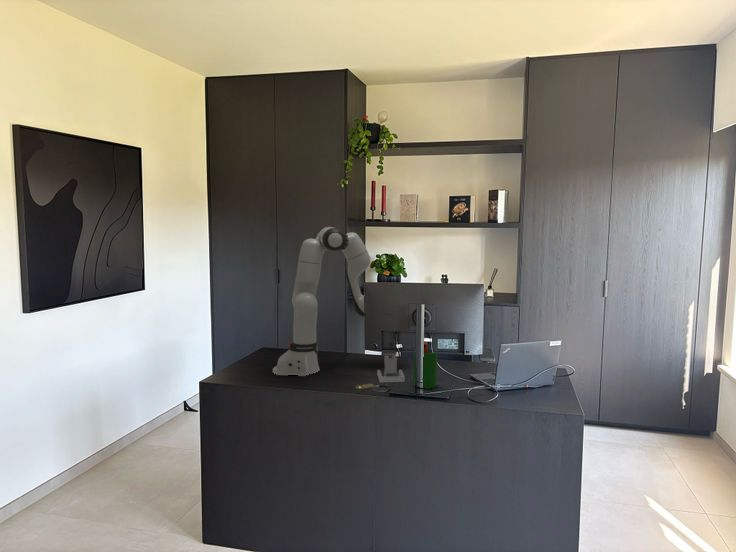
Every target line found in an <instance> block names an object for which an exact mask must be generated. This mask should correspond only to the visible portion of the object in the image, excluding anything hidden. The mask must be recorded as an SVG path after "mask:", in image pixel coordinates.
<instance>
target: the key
mask: <svg viewBox="0 0 736 552" xmlns="http://www.w3.org/2000/svg"><path fill="white" fill-rule="evenodd" d="M374 387H375V385H374V384H373V383H367V384H359V385H358V384H357V385H356V386H355V389H356V390H363V389H369V388H374Z"/></svg>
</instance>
